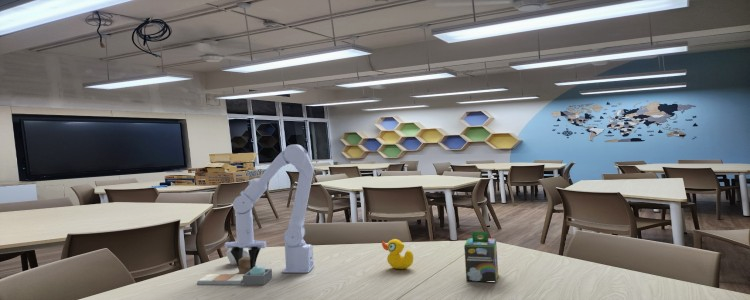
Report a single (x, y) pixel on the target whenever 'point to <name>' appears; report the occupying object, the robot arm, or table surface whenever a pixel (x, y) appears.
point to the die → (231, 257)
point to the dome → (257, 270)
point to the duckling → (394, 256)
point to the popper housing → (257, 278)
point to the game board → (221, 279)
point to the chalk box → (481, 258)
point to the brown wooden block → (244, 265)
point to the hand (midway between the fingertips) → (246, 268)
